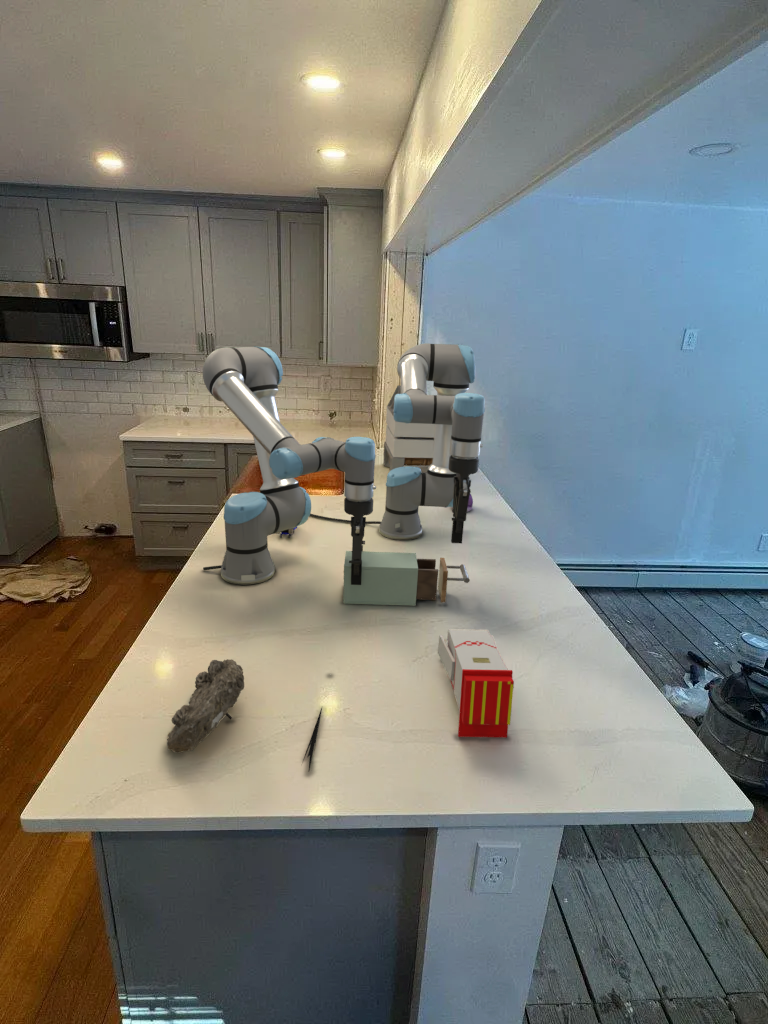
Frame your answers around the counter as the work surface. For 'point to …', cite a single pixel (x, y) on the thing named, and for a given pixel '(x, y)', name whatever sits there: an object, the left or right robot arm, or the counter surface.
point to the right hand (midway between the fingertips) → (456, 542)
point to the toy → (478, 682)
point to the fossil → (206, 705)
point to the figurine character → (287, 532)
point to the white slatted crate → (407, 441)
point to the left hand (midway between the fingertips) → (356, 575)
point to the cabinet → (382, 579)
